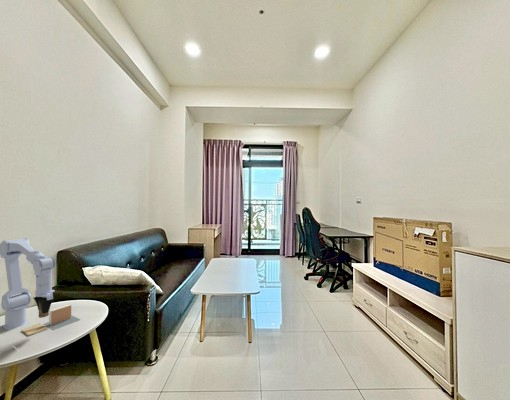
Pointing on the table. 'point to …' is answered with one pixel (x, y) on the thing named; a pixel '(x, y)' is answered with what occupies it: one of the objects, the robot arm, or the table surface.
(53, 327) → the mat
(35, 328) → the board
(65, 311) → the tile
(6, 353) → the table surface
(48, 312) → the dowel
